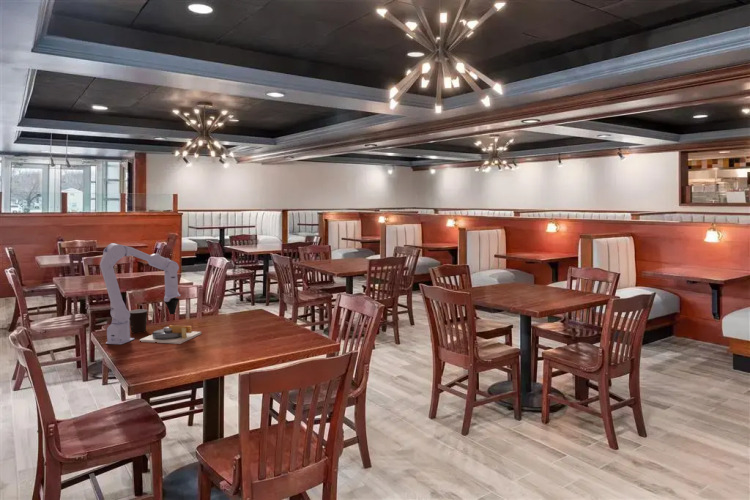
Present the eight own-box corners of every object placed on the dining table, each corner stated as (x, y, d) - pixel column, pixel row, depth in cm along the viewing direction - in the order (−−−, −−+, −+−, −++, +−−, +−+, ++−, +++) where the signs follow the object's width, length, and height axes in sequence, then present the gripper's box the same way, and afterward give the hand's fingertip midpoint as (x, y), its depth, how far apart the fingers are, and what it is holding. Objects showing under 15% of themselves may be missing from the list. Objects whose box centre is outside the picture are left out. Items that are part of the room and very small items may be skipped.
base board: (180, 343, 234) (179, 331, 234) (139, 341, 238) (139, 329, 237) (201, 333, 252) (200, 322, 251) (163, 331, 256) (162, 320, 255)
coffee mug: (143, 333, 252) (142, 313, 251) (125, 333, 252) (124, 313, 251) (154, 327, 264) (153, 308, 263) (136, 327, 264) (136, 308, 263)
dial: (146, 338, 238) (145, 328, 238) (163, 330, 252) (163, 321, 251) (182, 339, 235) (182, 329, 235) (198, 332, 249) (198, 322, 248)
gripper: (174, 288, 244) (175, 317, 245) (185, 283, 258) (186, 310, 259) (158, 288, 244) (160, 317, 245) (170, 283, 258) (171, 310, 259)
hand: (172, 313), depth 252 cm, fingers closed
